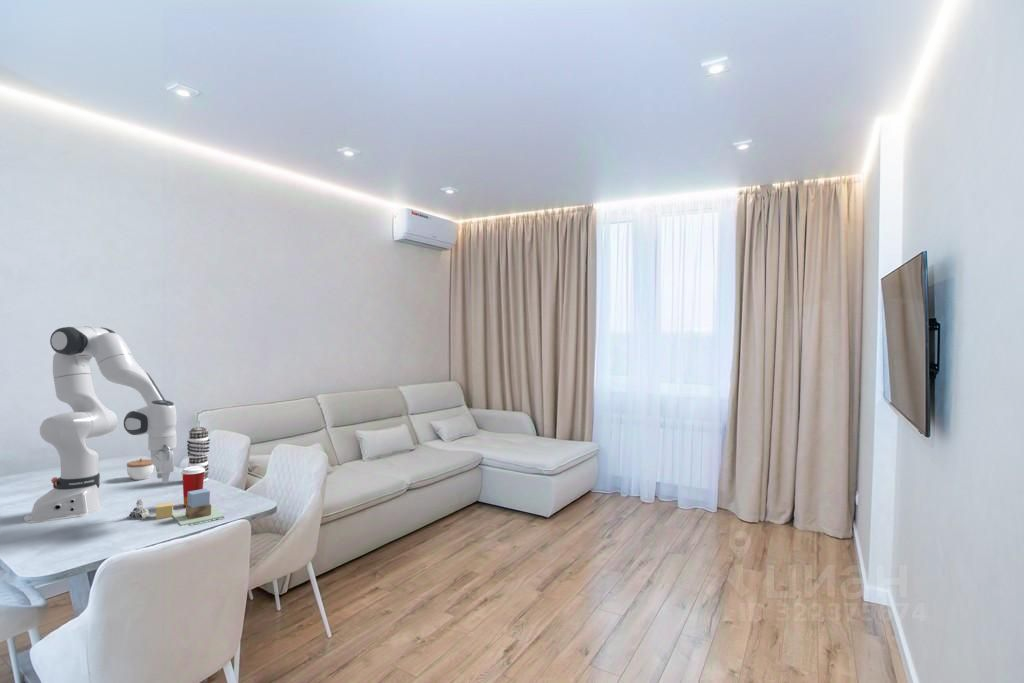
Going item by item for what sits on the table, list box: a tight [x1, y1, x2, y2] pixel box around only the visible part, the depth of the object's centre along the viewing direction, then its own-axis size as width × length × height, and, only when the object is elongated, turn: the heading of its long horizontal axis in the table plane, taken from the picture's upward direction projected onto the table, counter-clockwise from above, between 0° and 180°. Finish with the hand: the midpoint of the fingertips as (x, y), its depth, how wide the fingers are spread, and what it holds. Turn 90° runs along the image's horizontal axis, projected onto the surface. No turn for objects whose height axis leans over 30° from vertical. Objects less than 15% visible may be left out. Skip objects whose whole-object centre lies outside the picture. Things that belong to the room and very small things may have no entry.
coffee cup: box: [180, 466, 205, 507], centre depth 205 cm, size 8×8×15 cm
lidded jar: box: [126, 458, 155, 481], centre depth 240 cm, size 11×11×9 cm
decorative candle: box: [186, 426, 211, 483], centre depth 239 cm, size 9×9×25 cm
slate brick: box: [187, 488, 211, 508], centre depth 191 cm, size 6×5×5 cm
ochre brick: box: [155, 502, 174, 520], centre depth 190 cm, size 5×4×5 cm
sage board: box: [172, 506, 225, 526], centre depth 191 cm, size 14×14×1 cm
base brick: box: [185, 503, 212, 519], centre depth 191 cm, size 7×6×4 cm
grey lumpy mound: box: [126, 498, 152, 521], centre depth 191 cm, size 9×9×8 cm
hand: (162, 480), depth 189 cm, fingers open, 8 cm apart
